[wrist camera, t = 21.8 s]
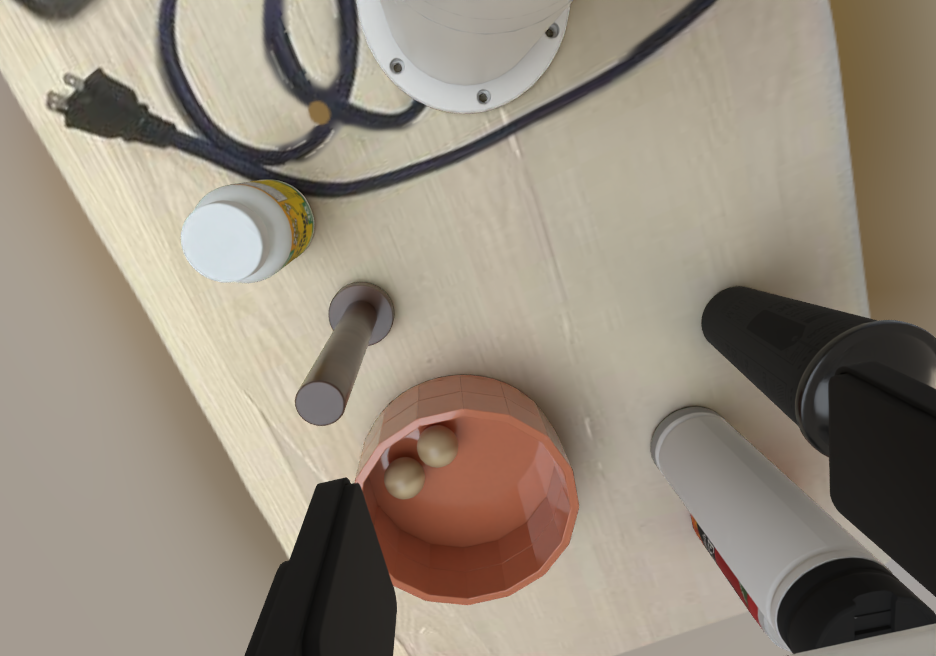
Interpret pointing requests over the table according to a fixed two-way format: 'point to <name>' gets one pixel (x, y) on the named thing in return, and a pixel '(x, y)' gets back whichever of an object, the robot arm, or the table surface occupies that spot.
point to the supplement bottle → (247, 231)
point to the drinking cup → (808, 350)
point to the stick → (344, 351)
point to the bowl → (470, 492)
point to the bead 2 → (437, 446)
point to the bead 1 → (404, 478)
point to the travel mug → (780, 539)
